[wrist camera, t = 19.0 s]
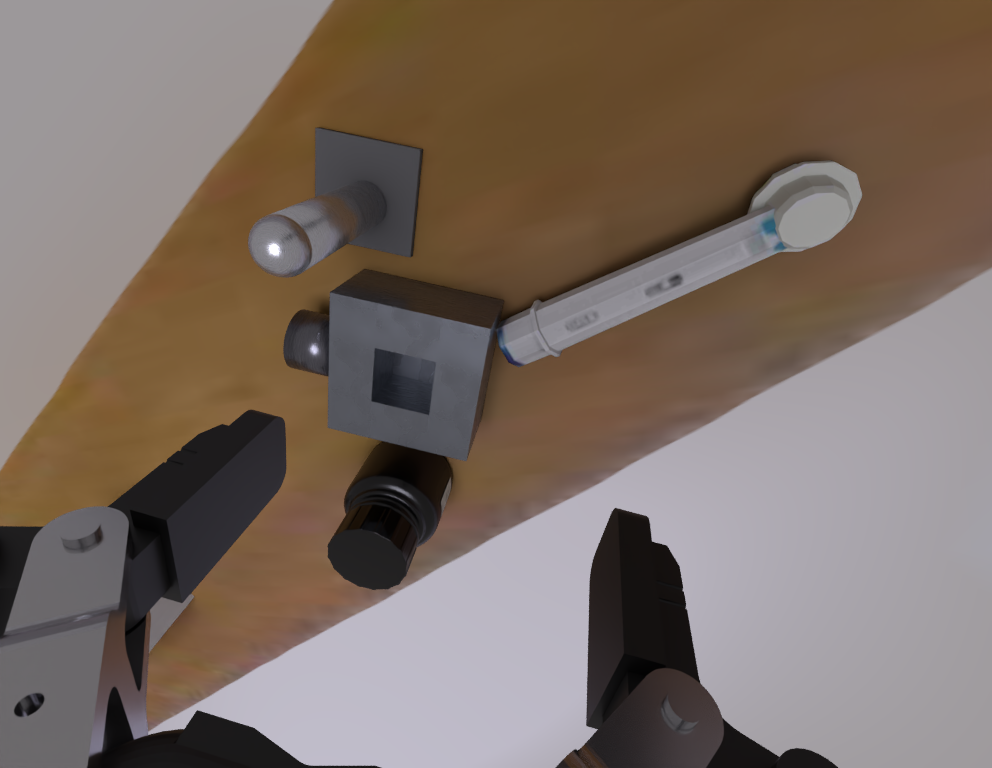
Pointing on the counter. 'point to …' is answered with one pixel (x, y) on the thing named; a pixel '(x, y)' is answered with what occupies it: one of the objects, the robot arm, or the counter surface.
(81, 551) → the robot arm
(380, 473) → the ink bottle
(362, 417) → the block
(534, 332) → the white elongated piece
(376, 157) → the key rest mat
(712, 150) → the counter surface
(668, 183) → the counter surface
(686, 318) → the counter surface
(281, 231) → the grey metal cylinder
